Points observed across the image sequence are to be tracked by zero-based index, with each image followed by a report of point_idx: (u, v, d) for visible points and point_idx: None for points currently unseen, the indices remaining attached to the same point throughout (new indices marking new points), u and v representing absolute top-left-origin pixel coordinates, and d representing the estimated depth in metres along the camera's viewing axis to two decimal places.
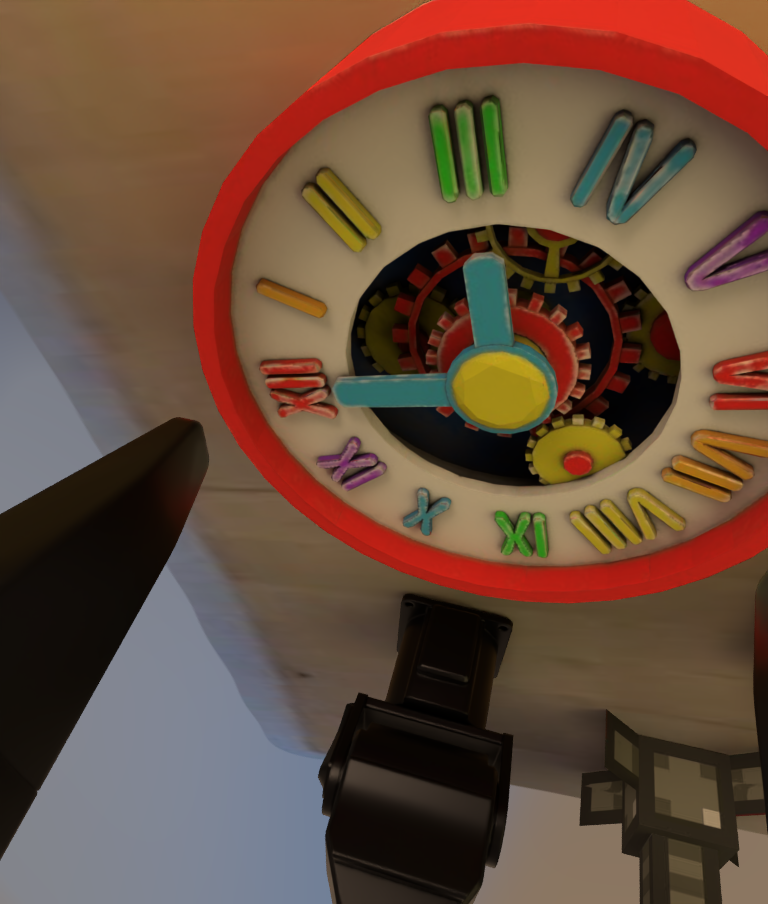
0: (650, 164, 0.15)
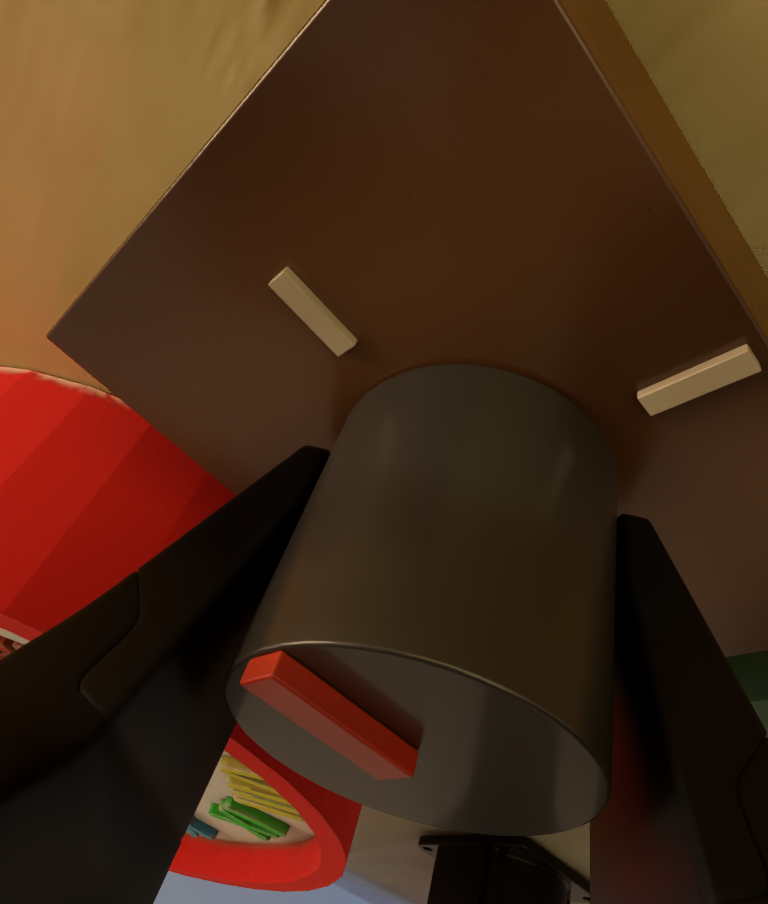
0: None
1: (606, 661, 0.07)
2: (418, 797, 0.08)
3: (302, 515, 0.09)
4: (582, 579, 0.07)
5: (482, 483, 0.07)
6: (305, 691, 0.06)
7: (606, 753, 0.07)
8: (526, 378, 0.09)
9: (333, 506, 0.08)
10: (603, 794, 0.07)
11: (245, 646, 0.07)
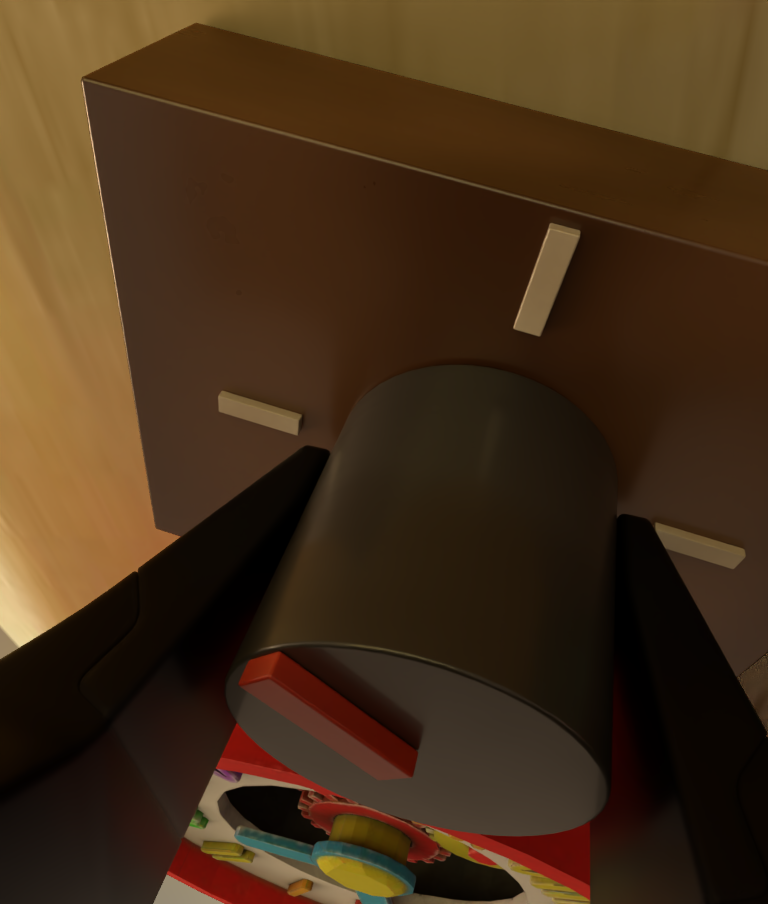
0: None
1: (605, 660, 0.07)
2: (420, 798, 0.08)
3: (301, 517, 0.09)
4: (580, 579, 0.07)
5: (479, 484, 0.07)
6: (303, 692, 0.06)
7: (606, 752, 0.07)
8: (524, 378, 0.09)
9: (331, 507, 0.08)
10: (603, 793, 0.07)
11: (244, 647, 0.07)
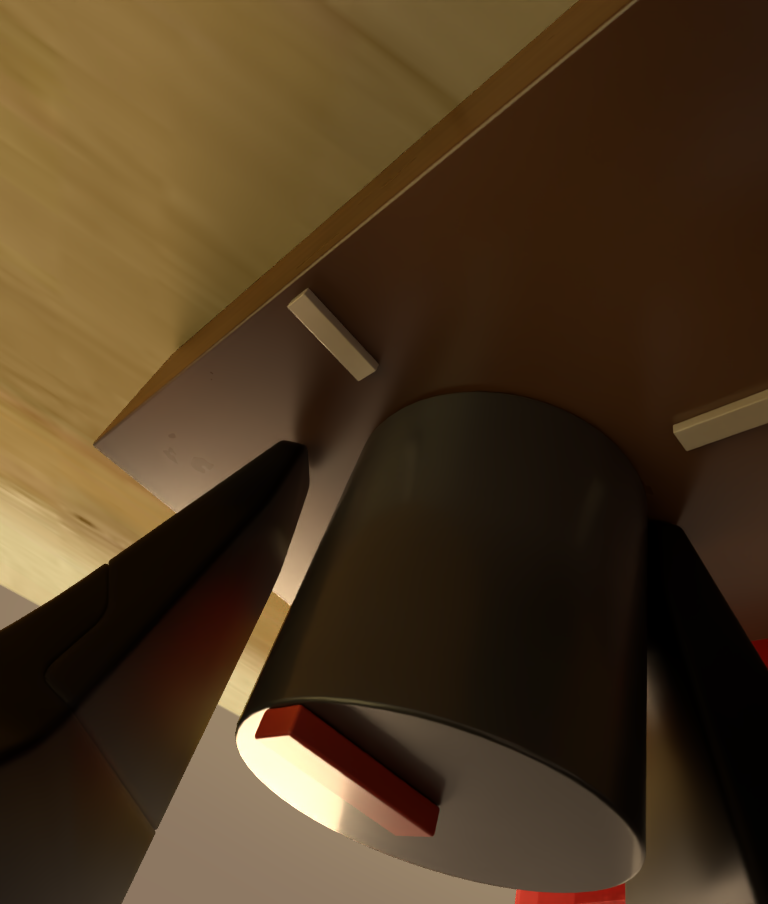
0: None
1: (641, 719, 0.07)
2: (435, 849, 0.08)
3: (319, 548, 0.08)
4: (617, 632, 0.07)
5: (514, 525, 0.07)
6: (324, 748, 0.06)
7: (643, 821, 0.06)
8: (557, 409, 0.09)
9: (354, 543, 0.07)
10: (636, 863, 0.06)
11: (260, 693, 0.07)
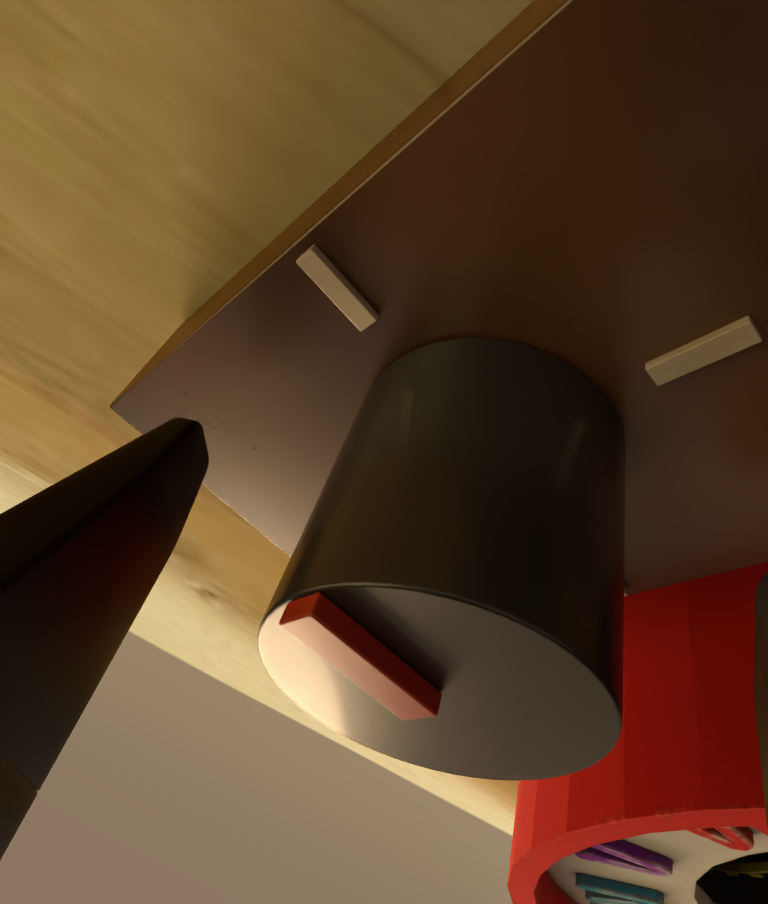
0: None
1: (618, 610, 0.08)
2: (437, 743, 0.09)
3: (329, 478, 0.09)
4: (596, 534, 0.08)
5: (503, 444, 0.08)
6: (341, 630, 0.07)
7: (620, 691, 0.07)
8: (541, 351, 0.09)
9: (362, 466, 0.08)
10: (614, 730, 0.07)
11: (281, 592, 0.07)
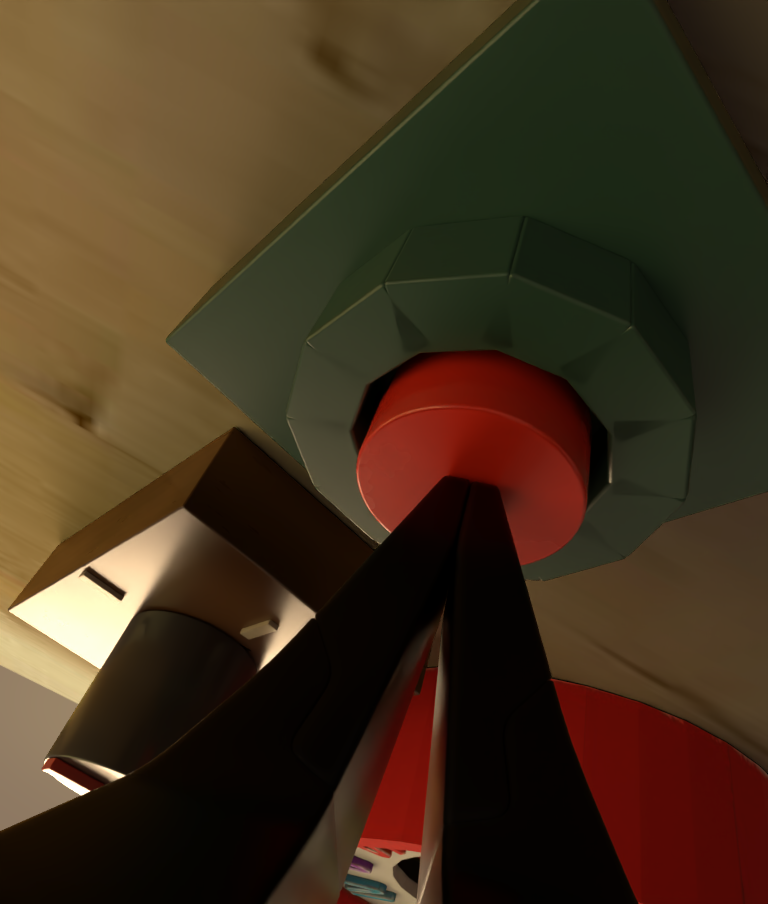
0: None
1: None
2: None
3: None
4: (188, 724, 0.18)
5: (151, 683, 0.18)
6: (64, 772, 0.17)
7: None
8: (196, 620, 0.20)
9: (94, 688, 0.18)
10: None
11: (49, 752, 0.18)
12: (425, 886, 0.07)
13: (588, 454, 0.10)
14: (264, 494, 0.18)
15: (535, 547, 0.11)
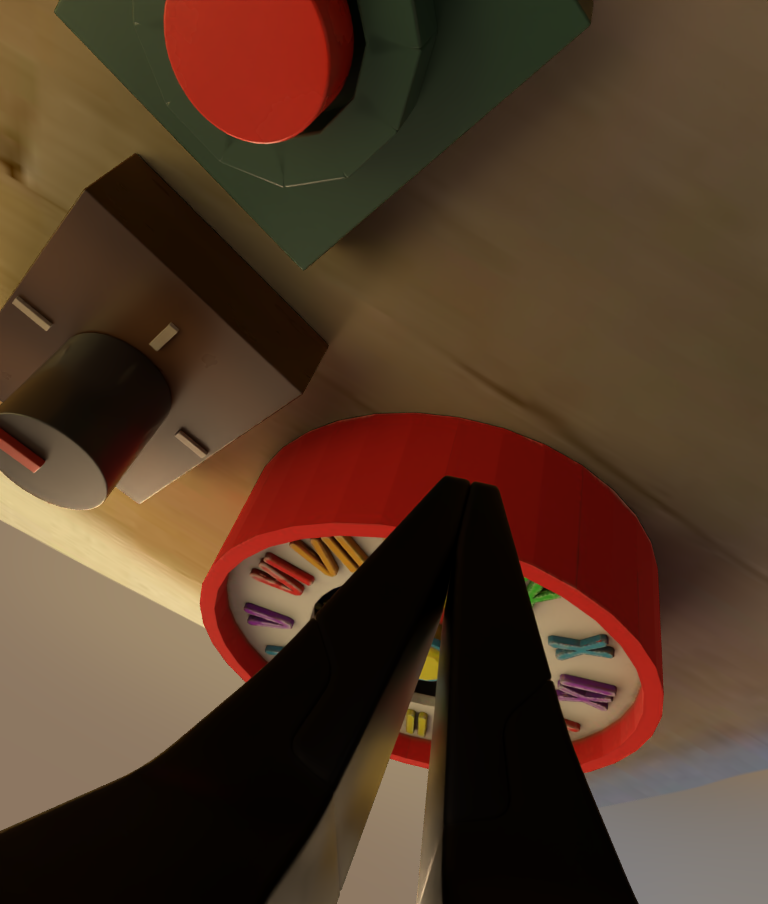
0: None
1: (106, 429, 0.21)
2: (62, 491, 0.22)
3: None
4: (101, 403, 0.21)
5: (70, 371, 0.22)
6: None
7: (93, 452, 0.21)
8: (113, 338, 0.23)
9: None
10: (96, 467, 0.21)
11: None
12: (425, 886, 0.07)
13: (335, 12, 0.13)
14: (161, 207, 0.21)
15: (305, 102, 0.14)
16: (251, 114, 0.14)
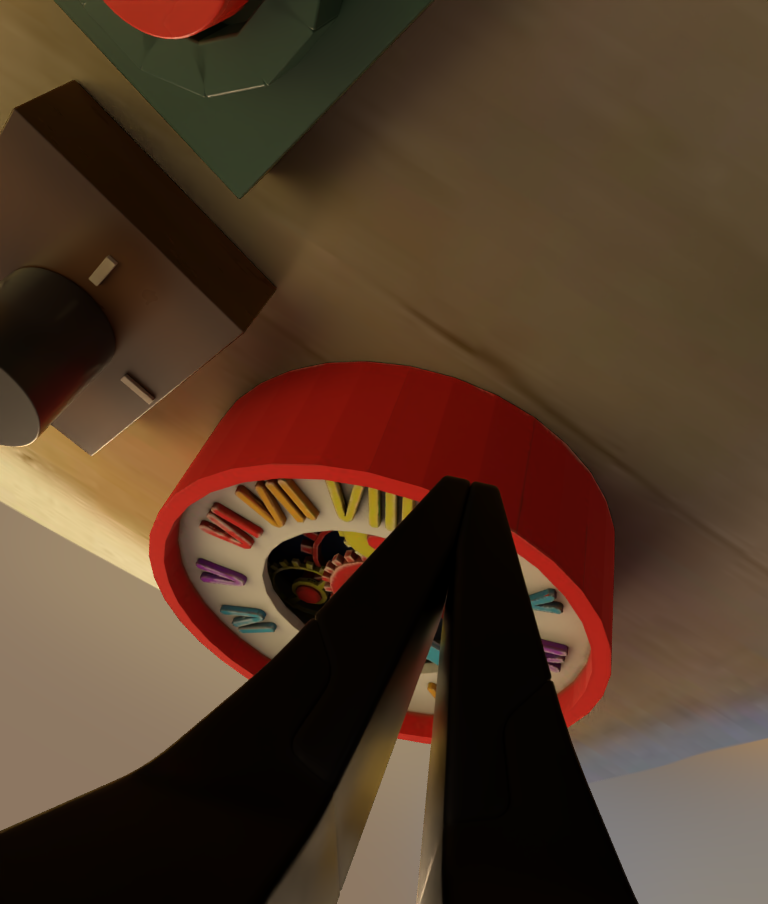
0: None
1: (38, 360, 0.21)
2: None
3: None
4: (34, 334, 0.21)
5: (4, 302, 0.21)
6: None
7: (23, 381, 0.20)
8: (53, 272, 0.23)
9: None
10: (26, 398, 0.20)
11: None
12: (425, 886, 0.07)
13: None
14: (99, 135, 0.21)
15: None
16: (157, 5, 0.14)
